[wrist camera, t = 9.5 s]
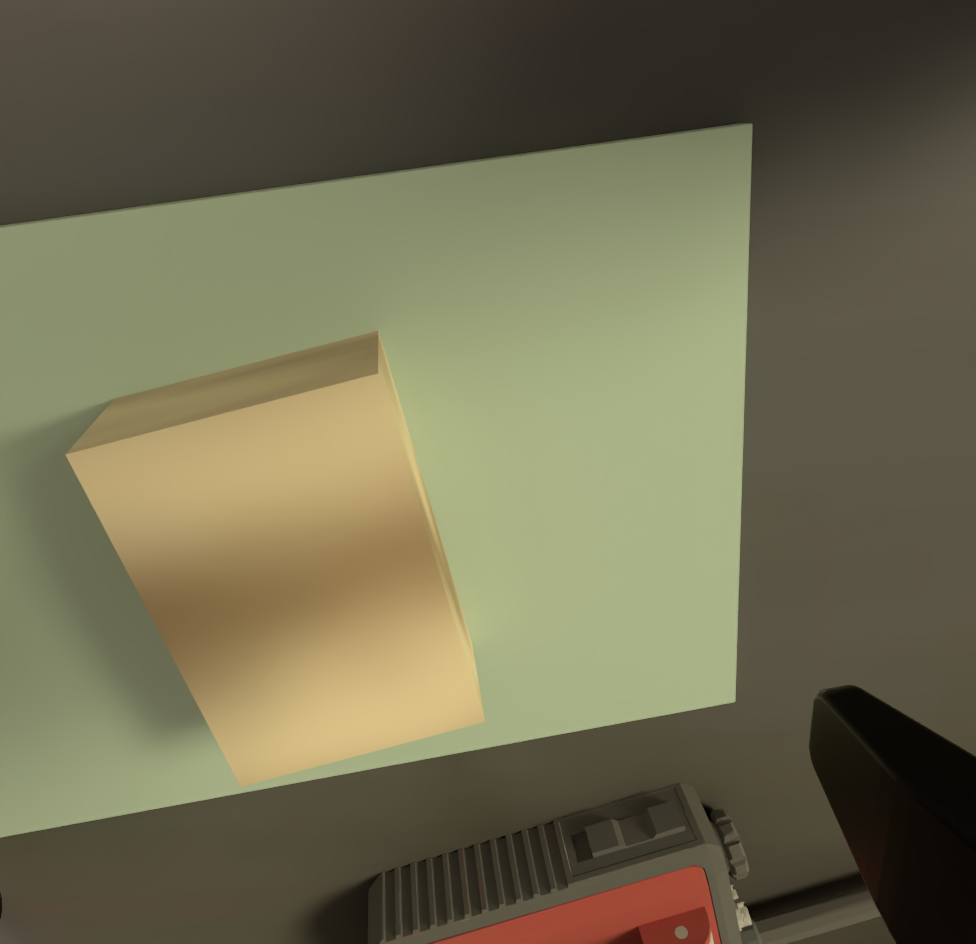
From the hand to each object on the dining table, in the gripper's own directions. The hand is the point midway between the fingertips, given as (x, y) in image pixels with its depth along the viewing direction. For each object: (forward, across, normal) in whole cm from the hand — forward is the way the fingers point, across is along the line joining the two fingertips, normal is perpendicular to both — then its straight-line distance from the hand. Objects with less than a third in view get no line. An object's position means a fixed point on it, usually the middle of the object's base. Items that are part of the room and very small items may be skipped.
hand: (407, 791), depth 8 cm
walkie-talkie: (+12, -5, +19) cm, 23 cm away
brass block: (+11, +3, +3) cm, 12 cm away
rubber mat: (+11, +3, +3) cm, 12 cm away
